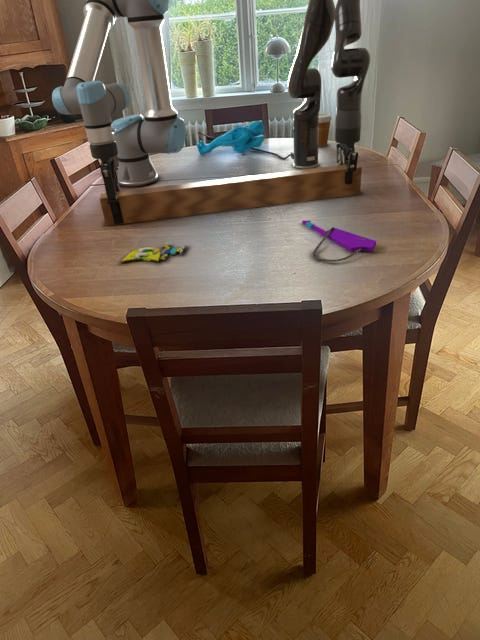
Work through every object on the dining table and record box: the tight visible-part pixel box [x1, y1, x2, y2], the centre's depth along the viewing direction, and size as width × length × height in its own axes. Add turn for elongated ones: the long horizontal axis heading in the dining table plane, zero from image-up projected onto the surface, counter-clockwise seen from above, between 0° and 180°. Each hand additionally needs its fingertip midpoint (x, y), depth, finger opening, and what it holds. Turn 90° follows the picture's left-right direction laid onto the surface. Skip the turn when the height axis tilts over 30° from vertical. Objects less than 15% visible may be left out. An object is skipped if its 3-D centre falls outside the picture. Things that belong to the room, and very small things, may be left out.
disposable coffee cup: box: [318, 113, 333, 148], centre depth 205 cm, size 10×10×12 cm
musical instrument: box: [301, 219, 377, 263], centre depth 123 cm, size 24×2×20 cm
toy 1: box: [120, 244, 187, 264], centre depth 126 cm, size 10×1×15 cm
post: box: [99, 163, 363, 227], centre depth 150 cm, size 80×5×9 cm, turn 98°
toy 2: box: [196, 120, 266, 156], centre depth 207 cm, size 17×11×30 cm
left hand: (119, 219), depth 149 cm, fingers closed on post, 5 cm apart
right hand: (345, 181), depth 152 cm, fingers closed on post, 5 cm apart
